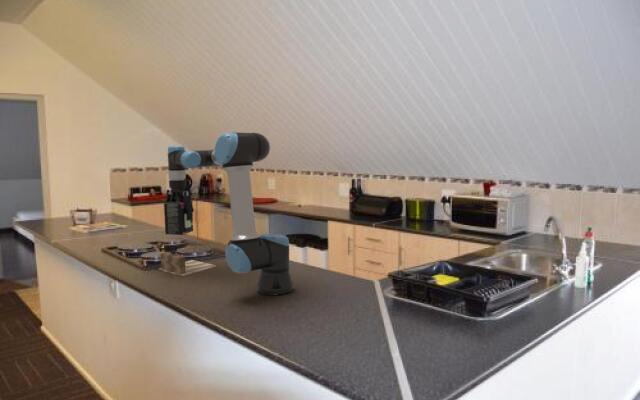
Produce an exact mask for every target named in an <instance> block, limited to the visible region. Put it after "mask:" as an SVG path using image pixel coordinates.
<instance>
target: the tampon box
mask: <svg viewBox="0 0 640 400" xmlns="http://www.w3.org/2000/svg"><path fill="white" fill-rule="evenodd" d="M191 202H192V206H193V201H192V200H191ZM193 207H194V206H193ZM163 210H164V230H165V232H164V233H165V235H175V236H176V235H177V236H184V235H187V234H189V233H191V232H194V220H193V219H194V215H193V213H194V212H192V213H191V220H190V224H191V227H188V228H185V220H184V213H185V211H184V203H181V202H180V201H179V200H176V201H173V202H167V203H165V202H164V203H163ZM190 210H191V209H190ZM187 211H188V210H187Z"/></svg>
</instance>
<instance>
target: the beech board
mask: <svg viewBox="0 0 640 400" xmlns="http://www.w3.org/2000/svg"><path fill="white" fill-rule="evenodd" d="M213 268H217V265H216V264H213V263H207V262H202V261H199V260H196V259H195V260H194V259H191V260H187V261H186V256H182V255H178V254H174V253H171V252H170V253H169V252H163V253H160V268H158V271H162V272H165V273H170V274H173V275H178V276H180V277H185V276H188V275H192V274H195V273H200V272H204V271H206V270H210V269H213Z"/></svg>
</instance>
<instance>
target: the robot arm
mask: <svg viewBox="0 0 640 400" xmlns="http://www.w3.org/2000/svg"><path fill="white" fill-rule="evenodd" d="M214 145H215V146H214V149H209V150H205V149H204V150H203V149H202V150H186V149H185V148H186V147H185V146H183V145H170V146H168V148H167V163H168V187H169V189H166V197H165V201H164V203H167V202H173V201H180V202H181V203H184V211H185V213H184V220H185V228H188V227H191V224H190V220H191V213H192V212H193V213H194V206H192V204H193V201H192V199H191V194H190V193H191V192H190V190H189V191H188V190H185V189H186V188H187V180H186V179H187V178H186V177H187V176H186V168H187V169H196V168H204V167H208V168H209V167H221V166H222V170H223V171H225V173H227V184H228V193H229V203H230V211H231V212H230V214H231V221H232V231H233V234H232V236H231V237H230V238H229V241H230V243H231V244H230V245H229V246H228V245H227V246H226V247H225V248H226V250H225V252H224V254H225V255H224V256H225V260H226V263H227V265H228V267H229V268H230V270H232V271H233V272H234V273H236V274H245V273H246V274H247V273H248V274H249V273H251V272H254V271H258V270H260V275H259V277H258V282H257V285H256V291H257V293H259V292H260V293H259V294H261V293H263V294H262V295H265V294H273V295H272V296H275V295H274V294H283V295H285V294H284V293H288V292H290V293H292V292H293V291H294V290H295V285H294V282H293V278H292V276H291V272H290V240H289V237H287V236H286V235H285V234H277V233H276V234H275V233H262V234H259V233H257V231H256V221H255V213H254V201H253V193H252V183H251V173H250V171H251V170H252V168H253V167H254V164H253V163H256V162H257V163H258V162H261V161H264V160H265V159H266V158H267V157H268V155H269V154H270V151H271V150H270V149H271V145H270V142H269V140H268V138H267V137H266V136H265V135H263V134H262V133H259V132H233V131H232V132H225V133H222V134H221V135H219V137H218V138H217V141H216V142H215V144H214ZM191 201H192V202H191ZM190 209H191V210H190ZM187 210H188V211H187ZM293 289H294V290H293ZM292 290H293V291H292ZM291 291H292V292H291ZM288 294H289V293H288Z"/></svg>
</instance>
